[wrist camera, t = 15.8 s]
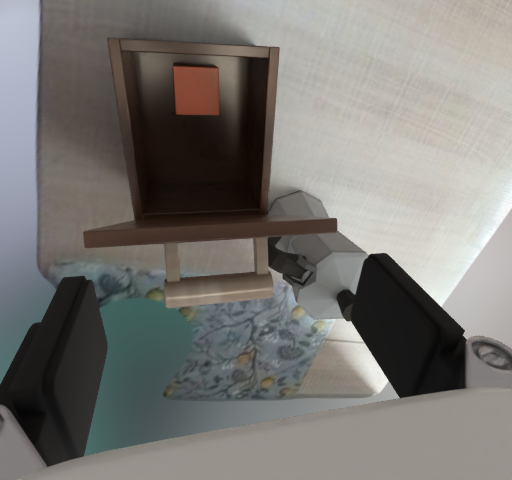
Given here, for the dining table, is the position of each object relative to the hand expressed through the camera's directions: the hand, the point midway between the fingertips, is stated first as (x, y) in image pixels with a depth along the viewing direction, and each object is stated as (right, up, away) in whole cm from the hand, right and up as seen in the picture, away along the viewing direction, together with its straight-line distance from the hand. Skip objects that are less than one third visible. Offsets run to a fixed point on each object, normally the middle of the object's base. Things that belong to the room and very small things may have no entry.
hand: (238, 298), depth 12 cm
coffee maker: (+5, +5, +33) cm, 33 cm away
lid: (-3, +4, +12) cm, 13 cm away
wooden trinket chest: (-6, +15, +24) cm, 29 cm away
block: (-5, +17, +22) cm, 28 cm away
